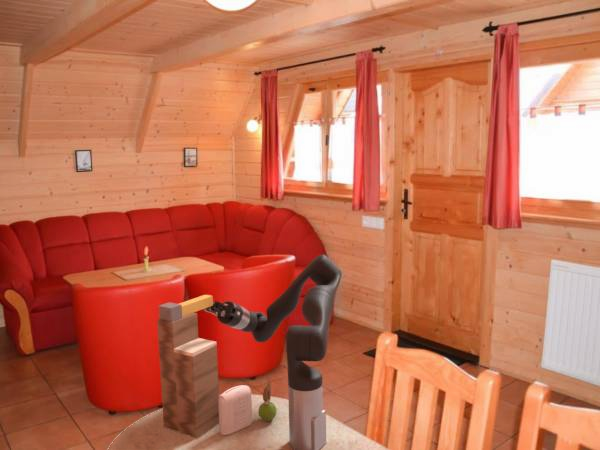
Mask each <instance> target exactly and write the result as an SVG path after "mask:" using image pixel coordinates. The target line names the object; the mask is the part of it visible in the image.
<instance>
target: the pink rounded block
mask: <svg viewBox="0 0 600 450" xmlns="http://www.w3.org/2000/svg"><path fill="white" fill-rule="evenodd" d="M252 401H253V400H252V390H251V388H250V386H248V385H245V384H244V385H243V384H242V385H241V384H240V385H236V386H232V387H231V388H228V389H227V390H225V391H224V392H222V393H221V394H219V399H218V405H219V424H218V425H219V426H218V427H219V432H220V434H221V435H222V436H223V435H224V436H228V435H231V434H234V433H236V432H239V431H241V430H243V429H244V428H245V429H246V428H247V427H249V426H251V425H252V424H253V410H252V409H253V407H252V405H253V404H252Z"/></svg>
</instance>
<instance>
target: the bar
mask: <svg viewBox="0 0 600 450" xmlns="http://www.w3.org/2000/svg"><path fill="white" fill-rule="evenodd" d="M213 302H214V298H213V295H211V294H203V295H200V296H198V297H195V298H194V297H193V298H191V299H188V300H186V301H183V302H180V303H174V302H166V303H163V304H160V305H158V315H159V316H158V319H160V320H164V321H169V322H174V321H176V320H179V319H182V317H183V316H186V315H188V314H191V313H197V312H198V311H201V310H202V309H205V308H207V307H211V306H213ZM202 311H203V310H202Z"/></svg>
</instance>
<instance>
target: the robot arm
mask: <svg viewBox="0 0 600 450" xmlns="http://www.w3.org/2000/svg"><path fill="white" fill-rule="evenodd" d="M308 279H309V280H311V281H312V282H313V283H315V284H316V285H315V286H313V287H310V288H309V289H308V290H307V291H306V293H305V295H304V298H303V301H302V304H301V313H302V316H303V317H304V319H305V320H306V321H307V322H308V324H309V325H302V324H301V325H300V324H298V325H296V324H295V325H290V326H288V328H287V330H286V335H285V350H286V351H285V352H286V353H285V354H286V363H287V364H286V365H287V366H286V367H287V383H288V384H287V387H288V389H287V391H288V421H289V422H288V425H289V426H288V430H289V432H288V434H289V446H290V448H291V449H292V450H320V449H321V448H323V447H324V446H325V444H327V411H326V410H325V409H324V405H323V404H324V403H323V398H324V397H323V396H324V395H323V392H324V391H323V390H324V389H323V375H322V372H321V371H319V369H317V368H315V367H313V366H310V365H308V364H306V363H305V362H321V361H322V360H324V358H325V356H326V354H327V350H328V342H329V331H330V323H331V319H332V314H333V310H334V306H335V305H334V304H335V299H336V294H337V290H338V287H339V285H340V282H341V279H342V270H341V269H340V268H339V266H337V265H336V264H335V263H334V262H333V261H332V260H331V259H330V258H329V257H328V256H327V255H326V254H319V255H318V256H316V257H314V258H313V259H312V260H311V261H310V262H309V263H308V264H307V266H305V268H303V270H302V271H301V272H300V273H299V274H298V275H297V276H296V278H295V279H294V280H293V281H292V282H291V283H290V285H289V286H288V288H286V289H285V291H284V292H282V293H281V294H280V296H279V297H277V298H276V299H275V300H274V301H273V302H272V303H271V304H270V305H268V307H266V310H265V311H266V315H265V313H264V312H261V311H251V310H248V309H246V308H245V307H243V306H241V304H240V305H239V304H237V303H235V302H233V301H231V300H227V301H224V302H220V301H218V300H215V301H213V306H210V307H207V308H205V309H202V311H204V312H206V313H210V314H212V315H214V316H216V318H217V320H218V322H219V323H221V324H223V325H226V326H228V327H230V328H233V329H237V330H239V331H242V332H245V333H251V334H252V337H253V339H254V341H255V342H257V343H265V342H267V341H269V340H270V339H271V338H272V337H273V336H274V334H275V333H276V331H277V330H278V329H279V327H280V326H281V324H282V322H283V321H284V320H285V319H286V318H287V317H289V316H290V315H291V314H293V312H294V311H295V310H296V308H297V306H298V304H299V300H300V297H301V293H302V289H303V287H304V285H305V283H306V282H307V281H308ZM194 298H196V296H195V297H193V299H194Z"/></svg>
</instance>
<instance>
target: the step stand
mask: <svg viewBox="0 0 600 450" xmlns="http://www.w3.org/2000/svg"><path fill="white" fill-rule="evenodd" d="M156 320H157V321H156V323H157V337H158V338H157V339H158V341H157V343H158V356H159V369H160V371H159V373H160V387H161V403H162V404H161V405H162V421H163V424H162V425H163V428H166V429H169V430H171V431H174V432H178V433H180V434H183V435H185V436H189V437H191V438H194V439H199V438H201V436H203V435H204V434H206V433H207V432H209V431H210V430H211V429H213V428H215V427H216V426H218V425H219V405H218V399H219V396H220V391H219V389H220V388H219V369H218V368H219V366H218V365H219V363H218V346H217V345H218V343H217V342H218V341H214V340H210V339H205V338H200V337H199V325H198V324H199V323H198V313H197V312H194V313H191V314H188V315H186V316H183V317H182V319H179V320H176V321H174V322H169V321H164V320H160V319H159V318H158V319H156Z"/></svg>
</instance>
